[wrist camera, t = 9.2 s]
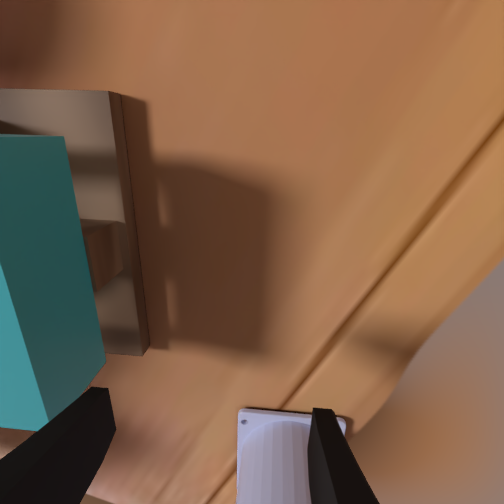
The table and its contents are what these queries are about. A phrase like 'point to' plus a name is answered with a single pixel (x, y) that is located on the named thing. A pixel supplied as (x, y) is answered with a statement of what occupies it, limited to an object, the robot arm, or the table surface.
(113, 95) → the stand
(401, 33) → the table surface
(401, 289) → the table surface
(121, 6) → the table surface
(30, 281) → the teal c-shaped bracket
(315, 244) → the table surface
